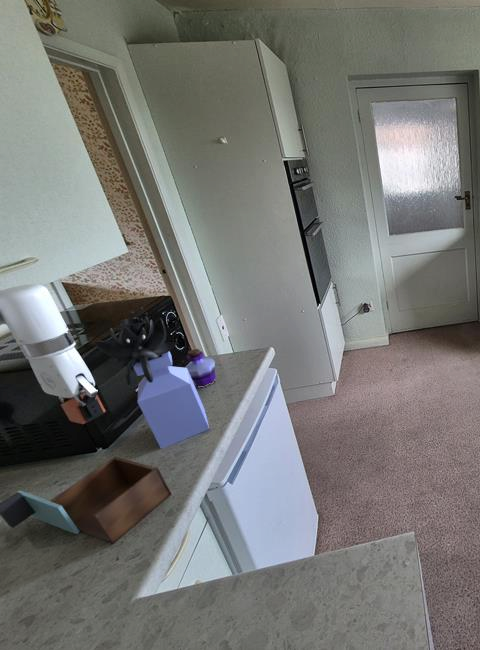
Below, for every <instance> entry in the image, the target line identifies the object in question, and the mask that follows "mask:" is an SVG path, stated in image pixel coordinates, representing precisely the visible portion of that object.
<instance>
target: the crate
mask: <svg viewBox="0 0 480 650" xmlns="http://www.w3.org/2000/svg"><path fill="white" fill-rule="evenodd" d="M170 496H172V492H171V489H169V486H168V484H167V482H166V481H165V479H164V477H163V475H162V473H161V470H160V469H159V468H158V467H155V466H152V465H148V464H144V463H141V462H137V461H133V460H130V459H126V458H124V457H123V458H122V457H119V456H115V455H114V456H113V457H112V458H110V459H109V460H107V461H106V462H104V463H103V464H101V465H100V466H98V467H97V468H96V469H94V470H93V471H91V472H90V473H88V474H87V475H86V476H84V477H82V478H81V479H80V480H78V481H77V482H75V483H74V484H72V485H71V486H69V487H67V488H66V489H65V490H63V491H62V492H60V493H59V494H58V495H56V496H55V497H53V498H51V499H50V502H53V503H56V504H58V505H61V506H62V507H63V509H64V510H65V511H66V513H67V514H68V516H69V517H70V519H71V520H72V521H73V523H74V524H75V526H76V527H77V528H78V530H79V531H80V532H82V533H84V534H87V535H90V536H92V537H94V538H97V539H100V540H103V541H105V542H108V543H109V544H113V545H114V544H116V543H117V542H118V541H119V540H120V539H122V538H123V537H124V536H125V535H126V534H127V533H129V532H130V531H131V530H132V529H133V528H135V526H136V525H137V524H140V522H142V520H144V519H145V518H146V517H147V516H148V515H150V513H152V512H153V511H154V510H155V509H157V507H159V506H160V505H161V504H162V503H163V502H164V501H166V500H167V499H168V498H169V497H170Z"/></svg>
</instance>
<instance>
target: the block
mask: <svg viewBox="0 0 480 650" xmlns="http://www.w3.org/2000/svg"><path fill="white" fill-rule="evenodd" d="M85 395H86V392H85V393H83V394H81V395H80V396H81V398H82V399H83V396H85ZM96 397H97V400H98V402H99V404H100V406H101V408H102V410H103V412H104V413H105V412H106V411H107V410H106V409H105V407H104V405H103V403H102V401H101V400H100V398H99V395H98V394H96ZM60 406H61V408H62V409H63V411H64V414H65V415H66V417H67V418H68V420H69V421H70V422H72V423H76V424H81V425H84V424H86V423H89V421H86V420H85V418H84V416H83V414H82V413H81V411H80V409H79V406H80V405H79V403H78V402H77V400H76V399H75V398H73V399H71V400H69V401H67V402H64V403H63V402H62V403H61V404H60Z"/></svg>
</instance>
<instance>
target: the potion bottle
mask: <svg viewBox="0 0 480 650" xmlns="http://www.w3.org/2000/svg"><path fill="white" fill-rule="evenodd" d="M204 357H205V355H204V352H203V351H202V350H200V348H195V349H191V350H188V351H187V356H186V358H187V361H188V362H190V363H188V364H187V365H186V366H185V367H184V368H187V369H188V371H189V374H190V376H191V379H192V381H193V383H194V384H195V385H196V386H197V385H198V386H205V385H207V384H209V383H212V382H213V381H214V379H216V371H215V370H216V363H215V362H216V361H215V360H214V359H213V358H212V357H206V358H204Z"/></svg>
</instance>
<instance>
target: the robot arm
mask: <svg viewBox="0 0 480 650" xmlns="http://www.w3.org/2000/svg"><path fill="white" fill-rule="evenodd" d="M2 325H6V327H7V328H8V330H9V331H10V333H11V335H12V337H13V338H14V340H15V341H16V344H17V345H18V347H19V348H20V350H21V352H22V354H23V355H24V357H25V359H27V360H28V362H29V365H30V367H31V369H32V372H33V374H34V375H35V378H36V380H37V382H38V384H39V386H40V387H41V389H42V391H43V392H44V393H45V394H48V395H51V396H56V397H58V399H59V401H60V402H61V403H62V404H63V403H65V402H67V401H69V400H71V399H73V398H75V399H76V400H77V402H78V403H79V405H80V406H79V409H80V411H81V413H82V414H83V416H84V418H85V420H86V421H88V422H91V421H93V420H95V419H97V418H99V417H100V416H102V415H103V414H104V413H105V412H103V410H102V408H101V406H100V404H99V402H98V400H97V397H96V395H98V394H99V392H98V389H96V388H95V386H96V381H95V379H94V376H93V375H92V373H91V371H90V369H89V368H88V365H87V364H86V363H85V361H84V359H83V358H82V356H81V355H80V353H79V351H78V350H77V349H76V347H75V346H76V345H77V343H76V341H75V339H74V337H73V334H72V333H71V331H70V329H69V327H68V325H67V323H66V321H65V320H64V318H63V315H62V314H61V312H60V310H59V308H58V307H57V304H56V302H55V301H54V298H53V297H52V295H51V292H50V291H49V290H48V288H47V287H46V286H45V285H42V284H37V283H32V284H31V283H30V284H23V285H22V284H21V285H17V286H12V287H8V288H5V289H0V326H2ZM80 389H81V390H80ZM83 393H86V395H85V396H83V399H82V398H81V396H80V395H81V394H83Z"/></svg>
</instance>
